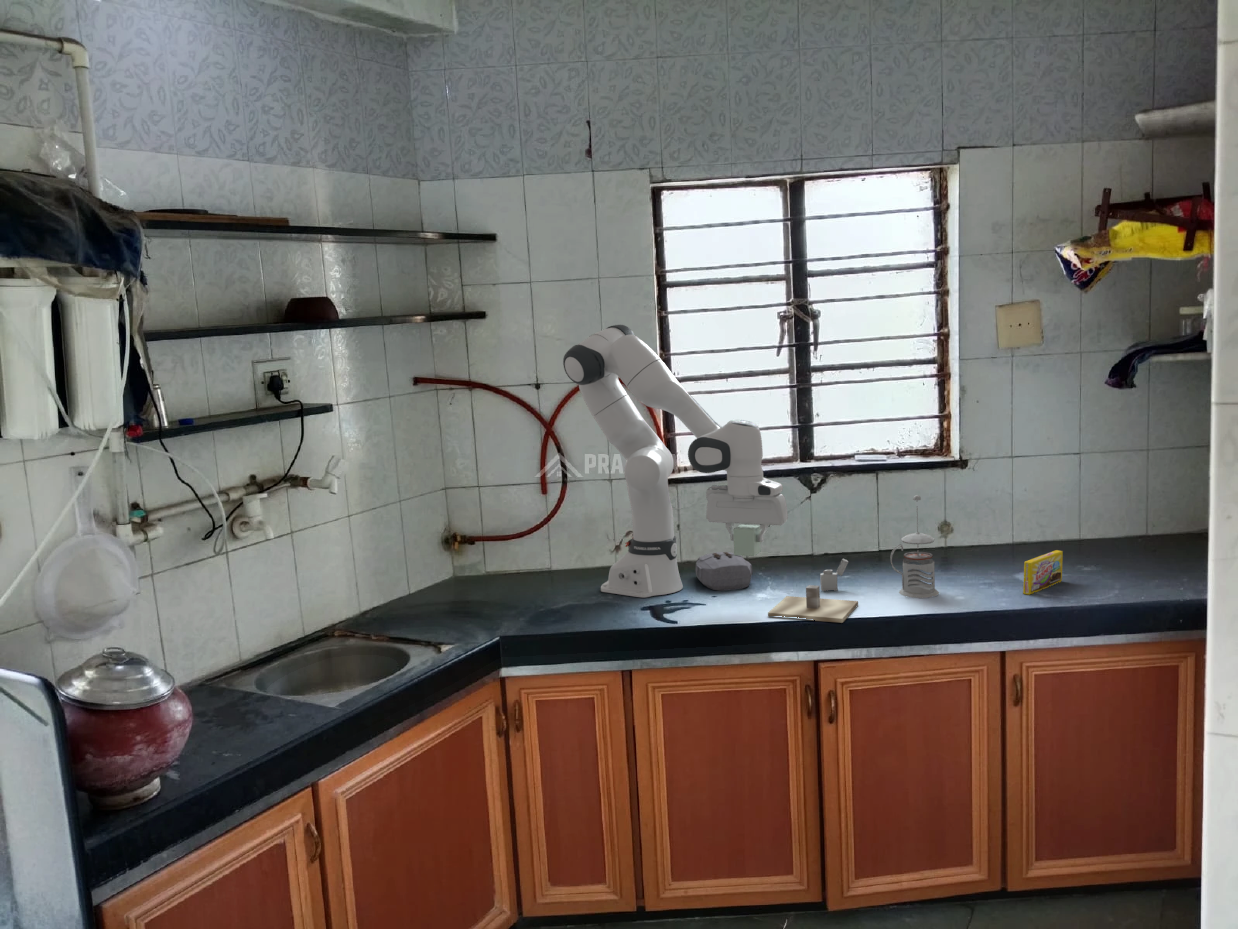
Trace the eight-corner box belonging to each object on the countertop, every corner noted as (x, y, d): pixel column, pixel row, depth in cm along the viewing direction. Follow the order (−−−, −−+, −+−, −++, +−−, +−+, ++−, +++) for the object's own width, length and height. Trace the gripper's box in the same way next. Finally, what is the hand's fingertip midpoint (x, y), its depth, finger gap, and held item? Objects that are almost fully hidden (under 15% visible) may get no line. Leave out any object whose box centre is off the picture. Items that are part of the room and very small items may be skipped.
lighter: (821, 591, 257) (820, 561, 255) (820, 589, 258) (819, 559, 257) (849, 589, 256) (848, 559, 255) (848, 588, 258) (847, 558, 257)
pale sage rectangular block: (734, 555, 244) (733, 528, 243) (741, 550, 249) (740, 524, 248) (754, 556, 242) (753, 529, 241) (760, 551, 246) (760, 525, 245)
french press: (941, 597, 244) (939, 498, 241) (892, 598, 246) (890, 499, 243) (937, 587, 253) (935, 491, 250) (890, 587, 256) (887, 492, 252)
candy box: (1030, 596, 241) (1030, 562, 240) (1022, 594, 243) (1022, 561, 242) (1063, 582, 252) (1063, 550, 250) (1055, 580, 253) (1055, 549, 252)
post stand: (768, 616, 237) (767, 592, 236) (786, 599, 250) (786, 576, 250) (842, 622, 229) (841, 597, 228) (858, 605, 242) (857, 581, 241)
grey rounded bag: (759, 588, 264) (739, 571, 283) (758, 557, 262) (737, 542, 282) (704, 594, 261) (687, 576, 281) (702, 563, 260) (686, 547, 280)
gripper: (701, 486, 245) (703, 541, 247) (781, 489, 236) (782, 546, 237) (710, 482, 250) (712, 536, 252) (788, 485, 241) (790, 540, 243)
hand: (747, 541), depth 245 cm, fingers closed on pale sage rectangular block, 5 cm apart
